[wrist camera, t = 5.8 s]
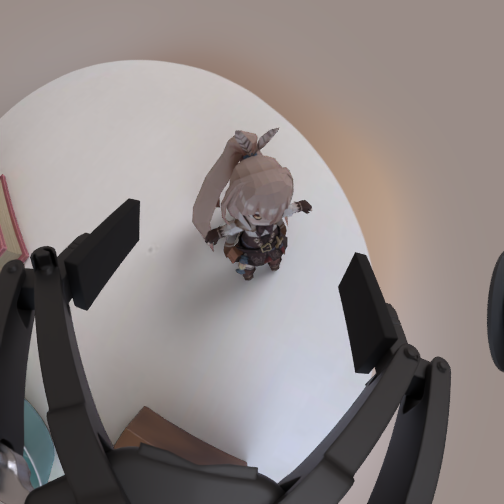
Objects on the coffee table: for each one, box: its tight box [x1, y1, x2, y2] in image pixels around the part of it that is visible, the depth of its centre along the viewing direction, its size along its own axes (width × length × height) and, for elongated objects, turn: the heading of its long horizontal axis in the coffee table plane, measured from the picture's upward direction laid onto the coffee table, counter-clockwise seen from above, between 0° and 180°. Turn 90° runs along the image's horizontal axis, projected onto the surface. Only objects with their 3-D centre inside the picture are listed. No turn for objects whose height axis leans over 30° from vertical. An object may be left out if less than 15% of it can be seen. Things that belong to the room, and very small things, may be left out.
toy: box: [192, 128, 312, 280], centre depth 21 cm, size 9×8×15 cm
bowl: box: [23, 399, 55, 489], centre depth 16 cm, size 16×16×8 cm
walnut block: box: [114, 406, 247, 466], centre depth 19 cm, size 12×12×6 cm
